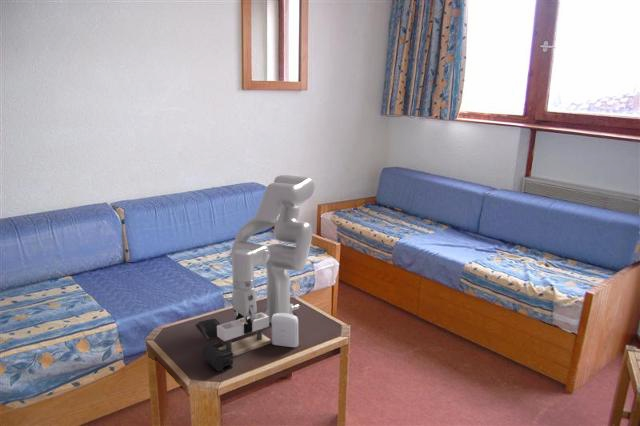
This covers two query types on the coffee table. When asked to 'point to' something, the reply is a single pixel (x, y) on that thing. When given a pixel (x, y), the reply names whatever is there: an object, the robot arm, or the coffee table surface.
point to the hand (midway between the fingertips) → (243, 329)
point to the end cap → (217, 356)
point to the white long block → (241, 327)
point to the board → (247, 343)
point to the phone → (209, 328)
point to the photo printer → (285, 330)
